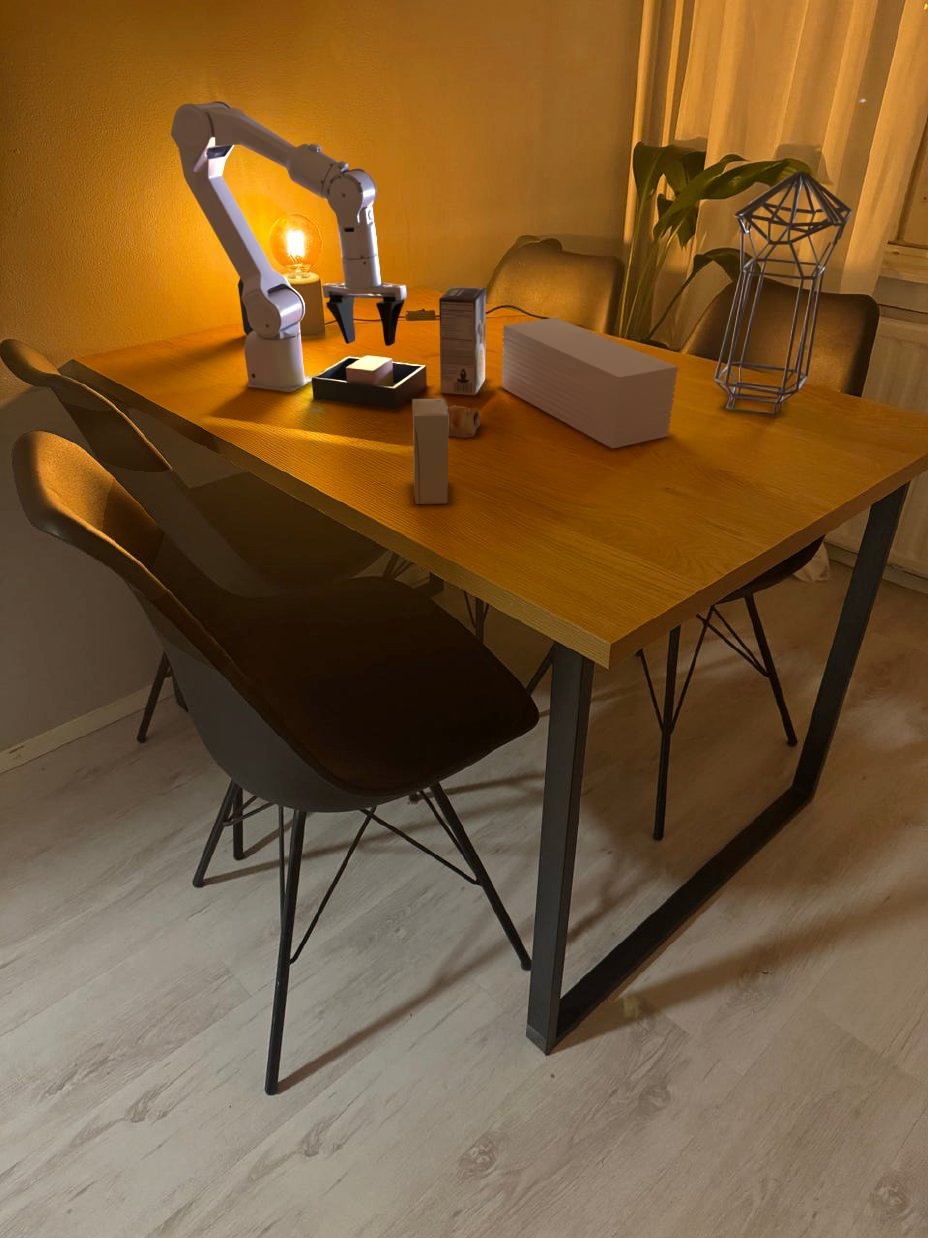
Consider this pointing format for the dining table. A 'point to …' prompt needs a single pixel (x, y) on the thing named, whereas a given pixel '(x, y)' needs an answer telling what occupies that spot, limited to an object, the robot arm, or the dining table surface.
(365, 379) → the pink rectangular block
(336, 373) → the storage box
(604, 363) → the stack of papers
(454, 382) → the coffee box
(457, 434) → the pastry
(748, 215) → the geometric lantern
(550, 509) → the dining table surface
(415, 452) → the cosmetic box
